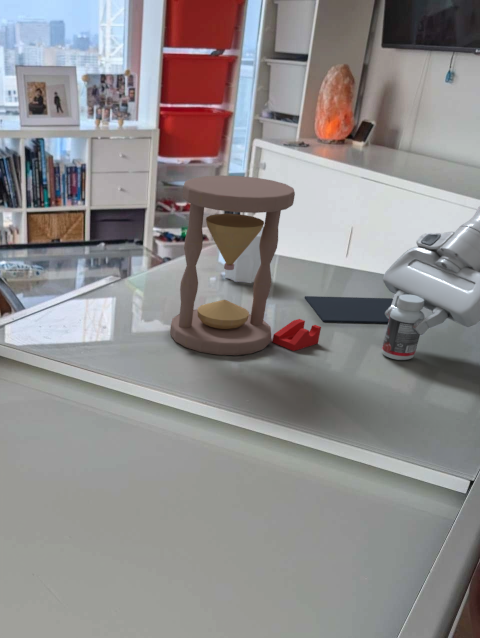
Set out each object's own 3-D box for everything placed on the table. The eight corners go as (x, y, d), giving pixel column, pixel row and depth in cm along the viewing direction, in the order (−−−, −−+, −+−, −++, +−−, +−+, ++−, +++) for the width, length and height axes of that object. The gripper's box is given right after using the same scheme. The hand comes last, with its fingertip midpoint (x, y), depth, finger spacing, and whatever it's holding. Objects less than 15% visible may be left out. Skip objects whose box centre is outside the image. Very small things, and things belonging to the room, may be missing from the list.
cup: (276, 280, 163) (284, 233, 157) (241, 287, 158) (248, 238, 153) (245, 268, 170) (252, 222, 164) (211, 274, 165) (216, 227, 160)
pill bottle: (377, 347, 131) (391, 292, 126) (409, 349, 131) (424, 293, 126) (384, 360, 127) (399, 302, 121) (417, 361, 127) (433, 304, 121)
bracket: (296, 335, 136) (299, 318, 134) (317, 343, 133) (321, 327, 131) (272, 342, 132) (275, 325, 131) (293, 351, 129) (296, 334, 128)
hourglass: (261, 321, 141) (284, 177, 127) (278, 358, 127) (306, 199, 113) (166, 317, 141) (179, 173, 127) (172, 353, 126) (187, 195, 113)
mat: (391, 300, 154) (392, 298, 154) (417, 324, 143) (418, 322, 142) (304, 298, 154) (304, 296, 153) (323, 322, 142) (323, 320, 142)
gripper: (521, 291, 117) (453, 358, 120) (429, 256, 133) (371, 315, 135) (509, 264, 113) (439, 334, 116) (415, 231, 129) (355, 293, 132)
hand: (401, 324), depth 126 cm, fingers closed on pill bottle, 5 cm apart
